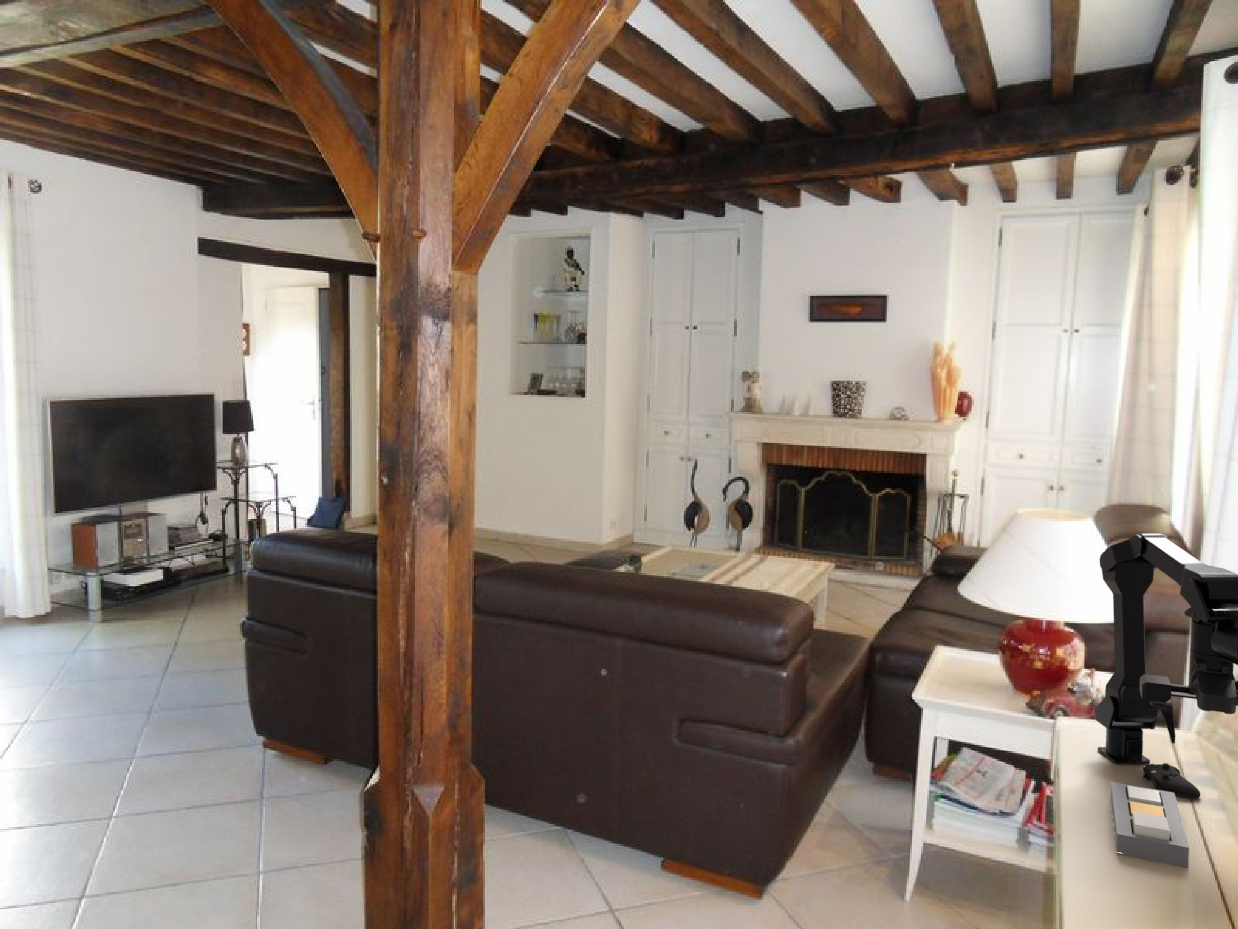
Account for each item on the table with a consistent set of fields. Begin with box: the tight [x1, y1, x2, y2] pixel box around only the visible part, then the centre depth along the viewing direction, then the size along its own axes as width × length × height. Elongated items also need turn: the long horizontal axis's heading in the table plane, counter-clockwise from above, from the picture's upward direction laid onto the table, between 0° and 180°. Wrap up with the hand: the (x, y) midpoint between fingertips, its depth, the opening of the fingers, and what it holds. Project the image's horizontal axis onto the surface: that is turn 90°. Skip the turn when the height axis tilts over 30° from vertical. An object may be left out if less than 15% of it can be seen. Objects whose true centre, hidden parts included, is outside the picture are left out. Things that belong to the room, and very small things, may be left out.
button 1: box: [1127, 785, 1161, 805], centre depth 141 cm, size 4×4×2 cm
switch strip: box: [1109, 781, 1190, 868], centre depth 135 cm, size 19×9×3 cm, turn 153°
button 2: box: [1132, 811, 1170, 841], centre depth 130 cm, size 4×4×2 cm
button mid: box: [1129, 801, 1165, 817], centre depth 135 cm, size 4×4×2 cm
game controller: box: [1142, 762, 1201, 800], centre depth 151 cm, size 10×5×6 cm
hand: (1207, 747), depth 137 cm, fingers open, 9 cm apart
